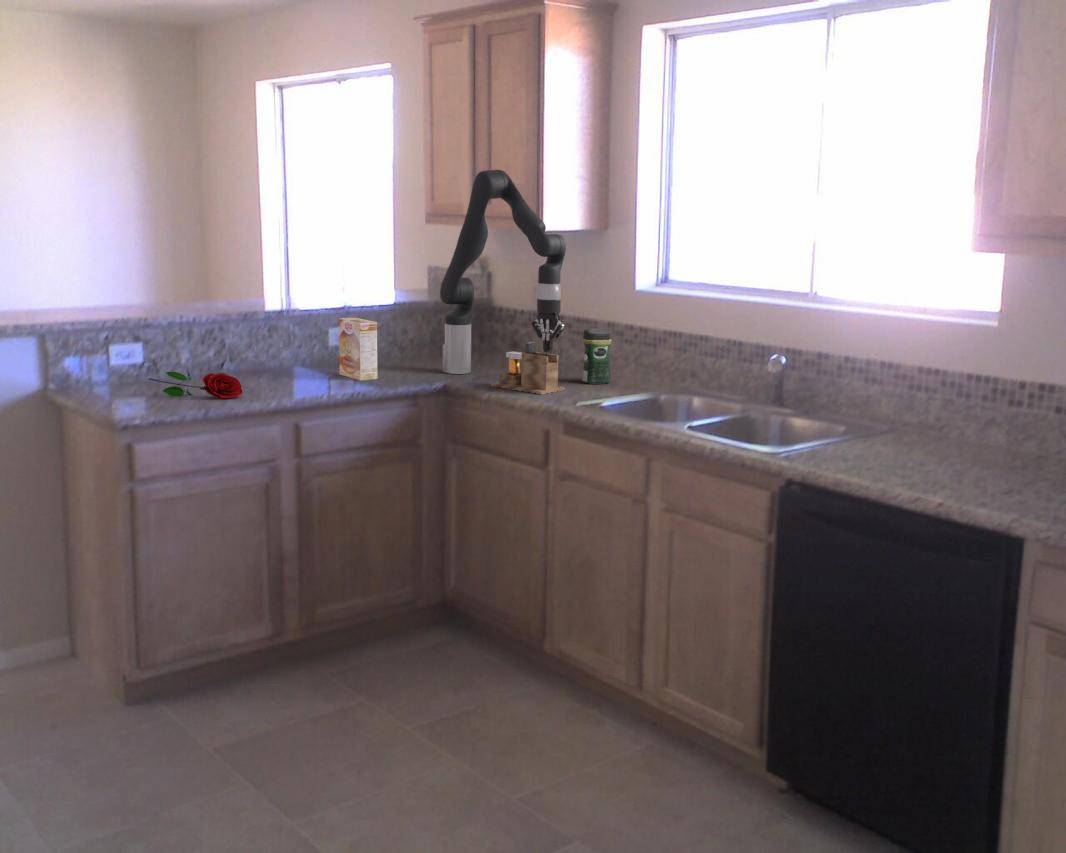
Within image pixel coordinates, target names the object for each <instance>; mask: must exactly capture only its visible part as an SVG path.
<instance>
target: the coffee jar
mask: <svg viewBox="0 0 1066 853" xmlns="http://www.w3.org/2000/svg"><path fill="white" fill-rule="evenodd" d="M582 343H583V347H584V355H583V364H582V371H581V372H582V373H581V381H582V382H583V383H584V384H592V385H601V384H602V385H603V384H608V383H610V382H611V380H612V379H611V366H610V365H611V364H610V348H611V344H612V333H611V329H608V328H605V327H604V328H603V327H602V328H600V327H592V328H585V329H584V330H583V337H582Z"/></svg>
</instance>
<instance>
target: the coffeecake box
mask: <svg viewBox="0 0 1066 853" xmlns="http://www.w3.org/2000/svg"><path fill="white" fill-rule="evenodd" d="M338 344H339V345H338V347H339V348H338V350H339V352H338V353H339V354H338V356H339V357H338V358H339V362H338V363H339V375H341V376H343V377H344V376H345V377H347V378H351V379H354V380H357V381H371V380H378V322H377V321H373V320H369V319H363V318H359V317H339V318H338Z"/></svg>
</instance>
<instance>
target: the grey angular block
mask: <svg viewBox="0 0 1066 853" xmlns="http://www.w3.org/2000/svg"><path fill="white" fill-rule="evenodd" d="M524 344H525V345H524V347H525V348H524V353H526V354H533V355H536V352H537V351H536V350H537V349H536V348H537V343H536V342H534V341H530V342H525V343H524ZM522 353H523V352H519V351H507V352H505V357H506V358H508V359H510V358H515V359H520V361H522ZM540 356H541V355H540Z"/></svg>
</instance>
